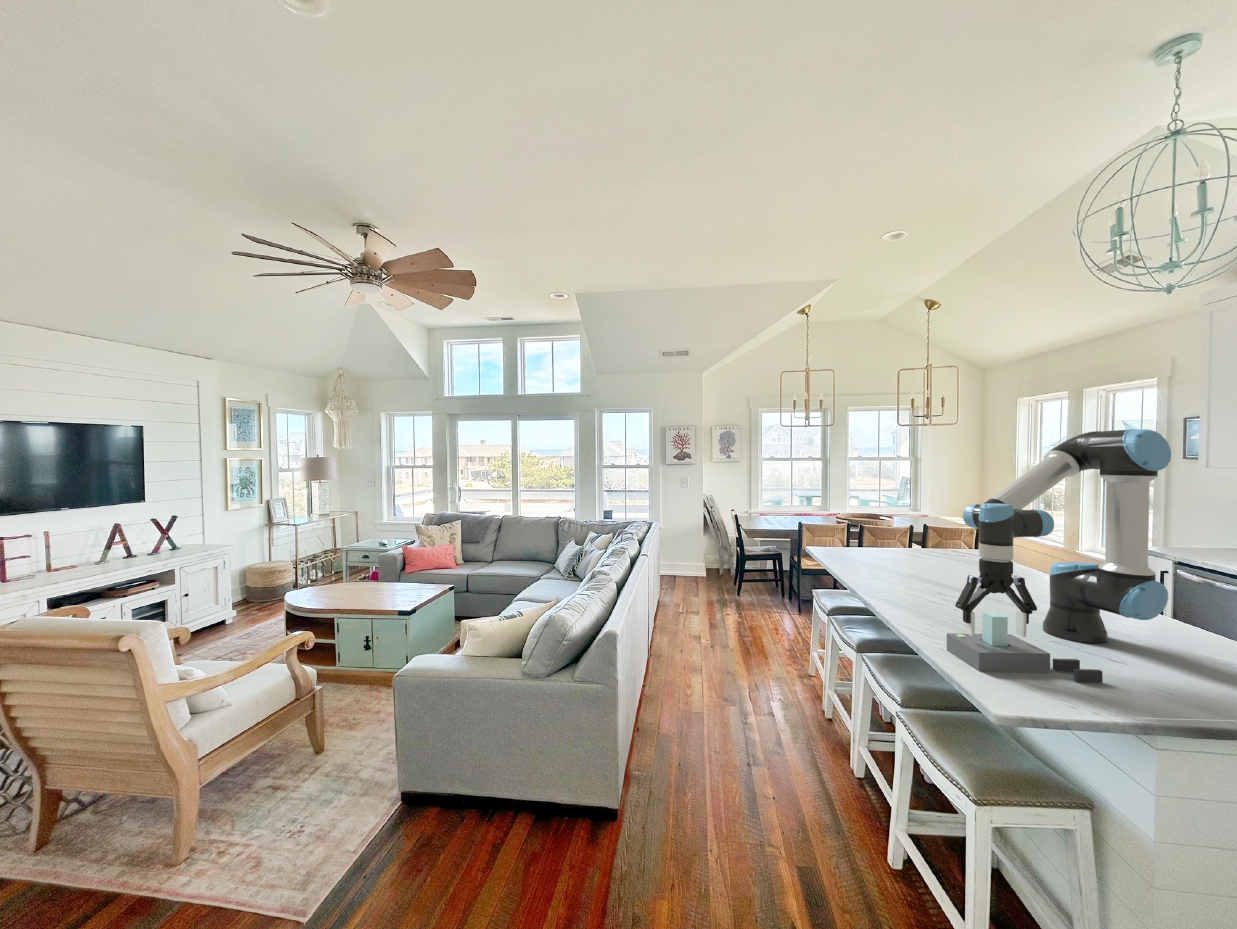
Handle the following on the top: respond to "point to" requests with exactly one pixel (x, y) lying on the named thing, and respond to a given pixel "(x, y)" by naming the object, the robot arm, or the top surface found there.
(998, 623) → the plug
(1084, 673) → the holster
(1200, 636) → the top surface
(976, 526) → the robot arm
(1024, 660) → the port block
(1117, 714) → the top surface
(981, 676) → the top surface
